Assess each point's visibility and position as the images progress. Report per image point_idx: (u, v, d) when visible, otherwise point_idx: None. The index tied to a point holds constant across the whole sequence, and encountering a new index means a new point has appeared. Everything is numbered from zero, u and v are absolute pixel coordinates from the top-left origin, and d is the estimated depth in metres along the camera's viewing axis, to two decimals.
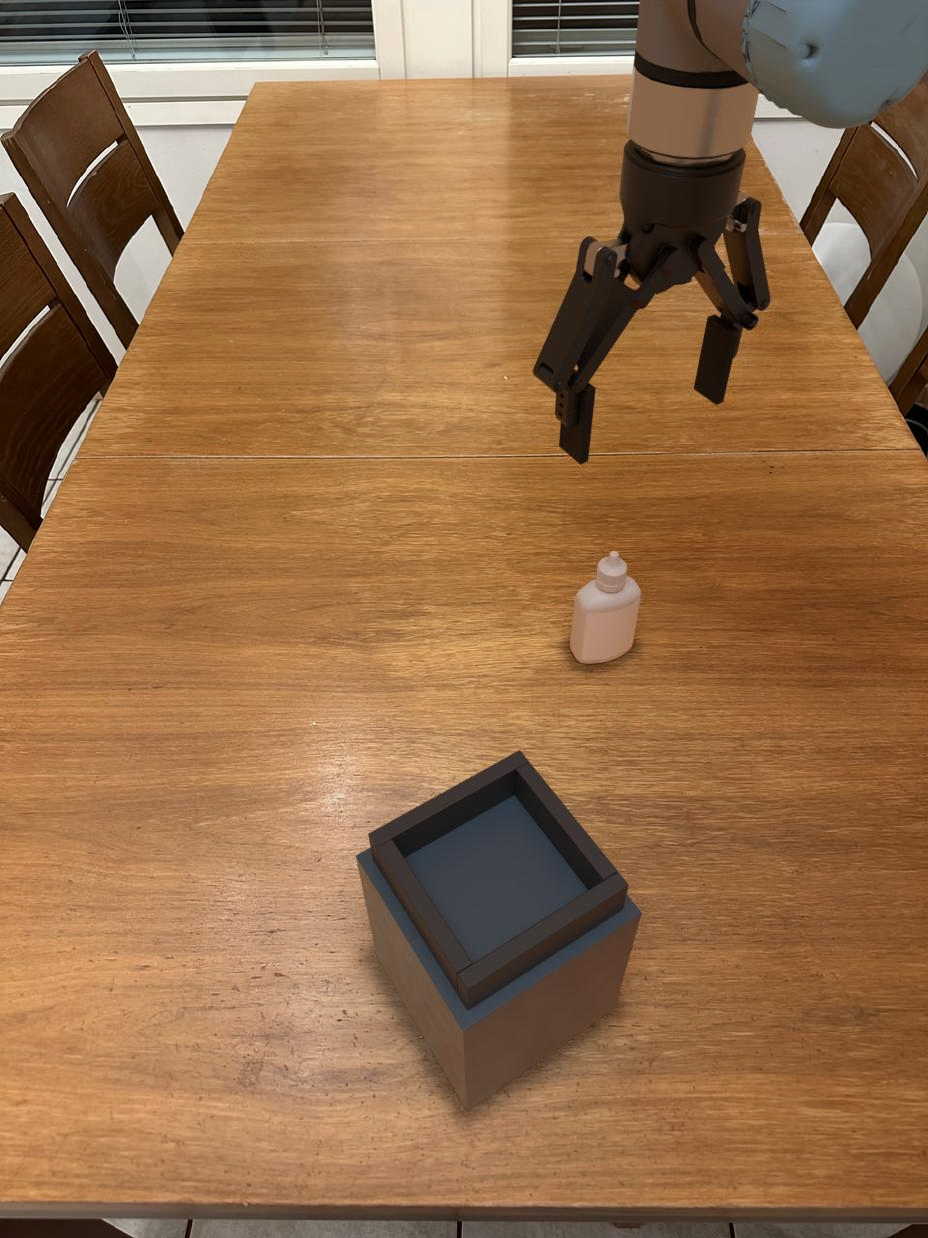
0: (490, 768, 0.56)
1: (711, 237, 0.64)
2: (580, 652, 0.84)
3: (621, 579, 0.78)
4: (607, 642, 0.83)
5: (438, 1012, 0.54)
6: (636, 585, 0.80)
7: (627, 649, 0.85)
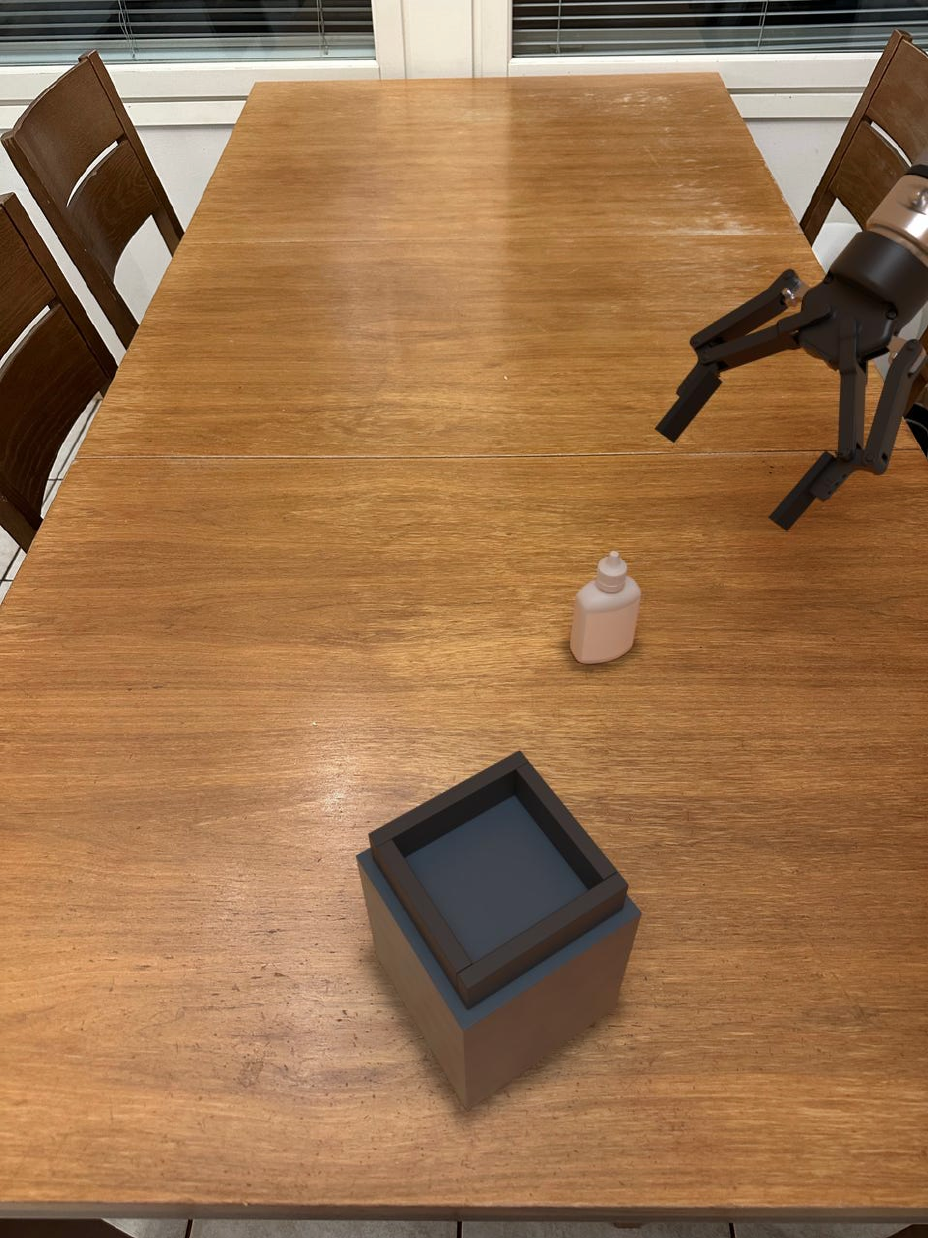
0: (490, 768, 0.56)
1: None
2: (580, 652, 0.84)
3: (621, 579, 0.78)
4: (607, 642, 0.83)
5: (438, 1012, 0.54)
6: (636, 585, 0.80)
7: (627, 649, 0.85)
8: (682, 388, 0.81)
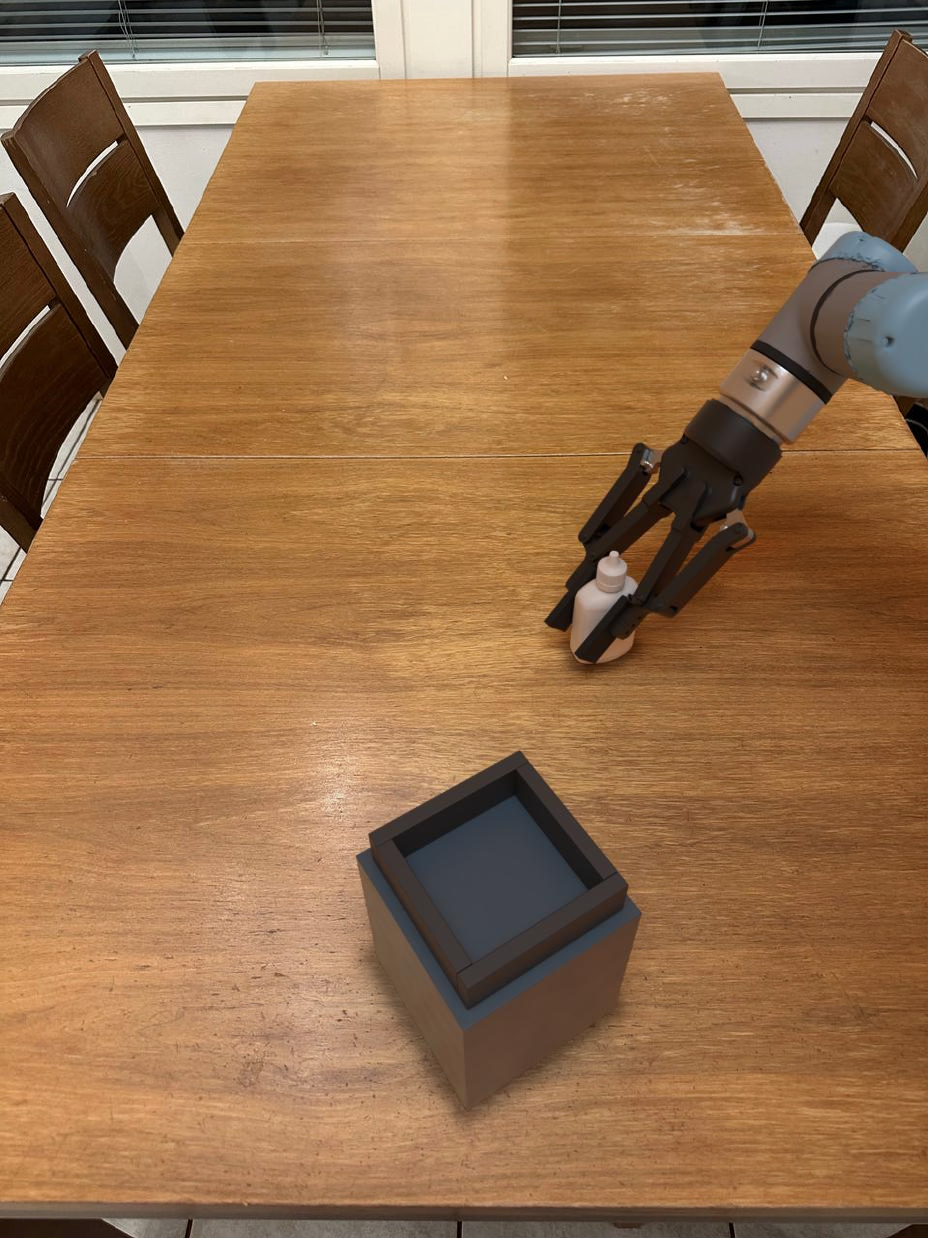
0: (490, 768, 0.56)
1: None
2: None
3: (621, 579, 0.78)
4: None
5: (438, 1012, 0.54)
6: (636, 585, 0.80)
7: (627, 649, 0.85)
8: (571, 582, 0.82)
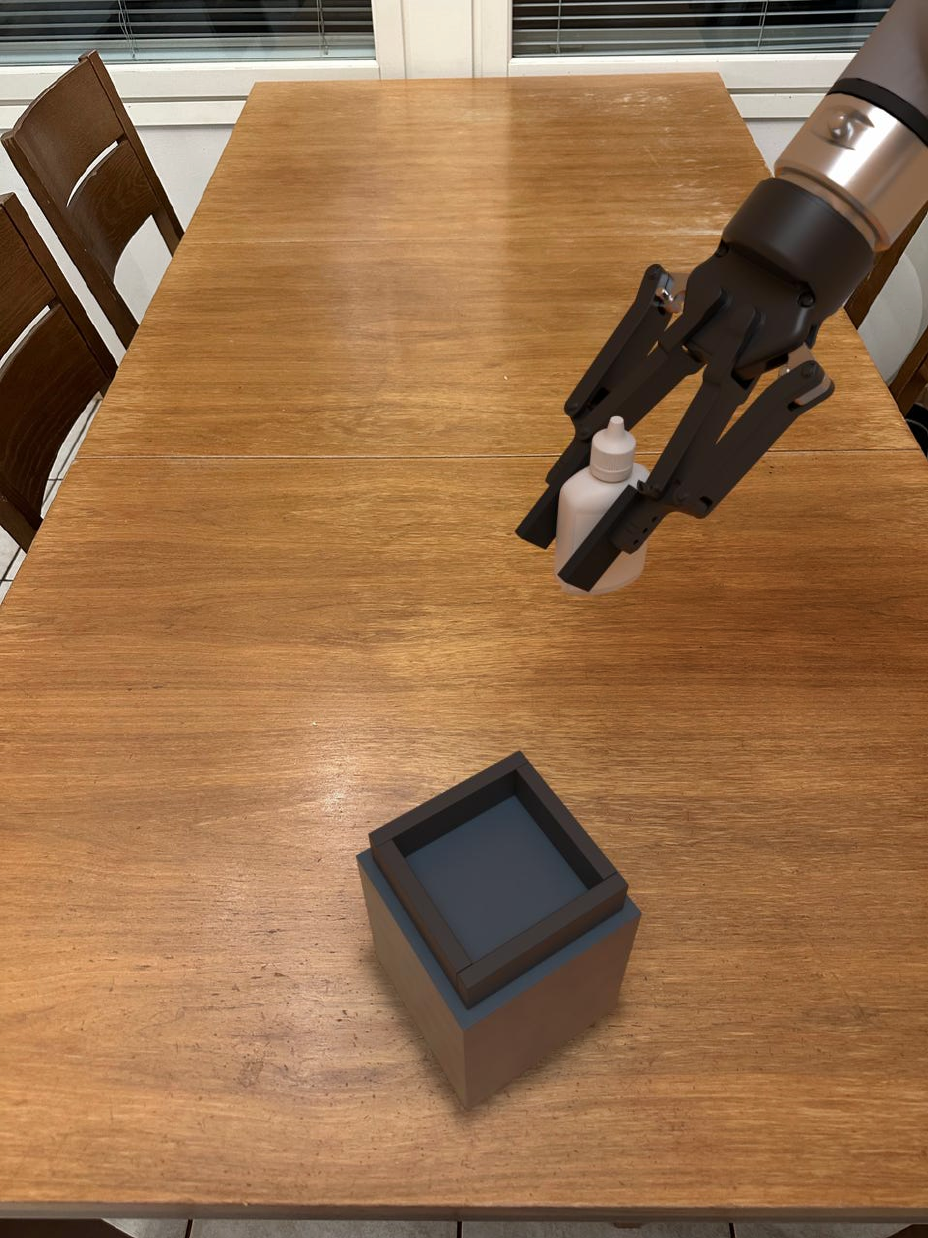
0: (490, 768, 0.56)
1: None
2: None
3: (627, 460, 0.52)
4: None
5: (438, 1012, 0.54)
6: (649, 474, 0.55)
7: (636, 576, 0.59)
8: (553, 474, 0.56)
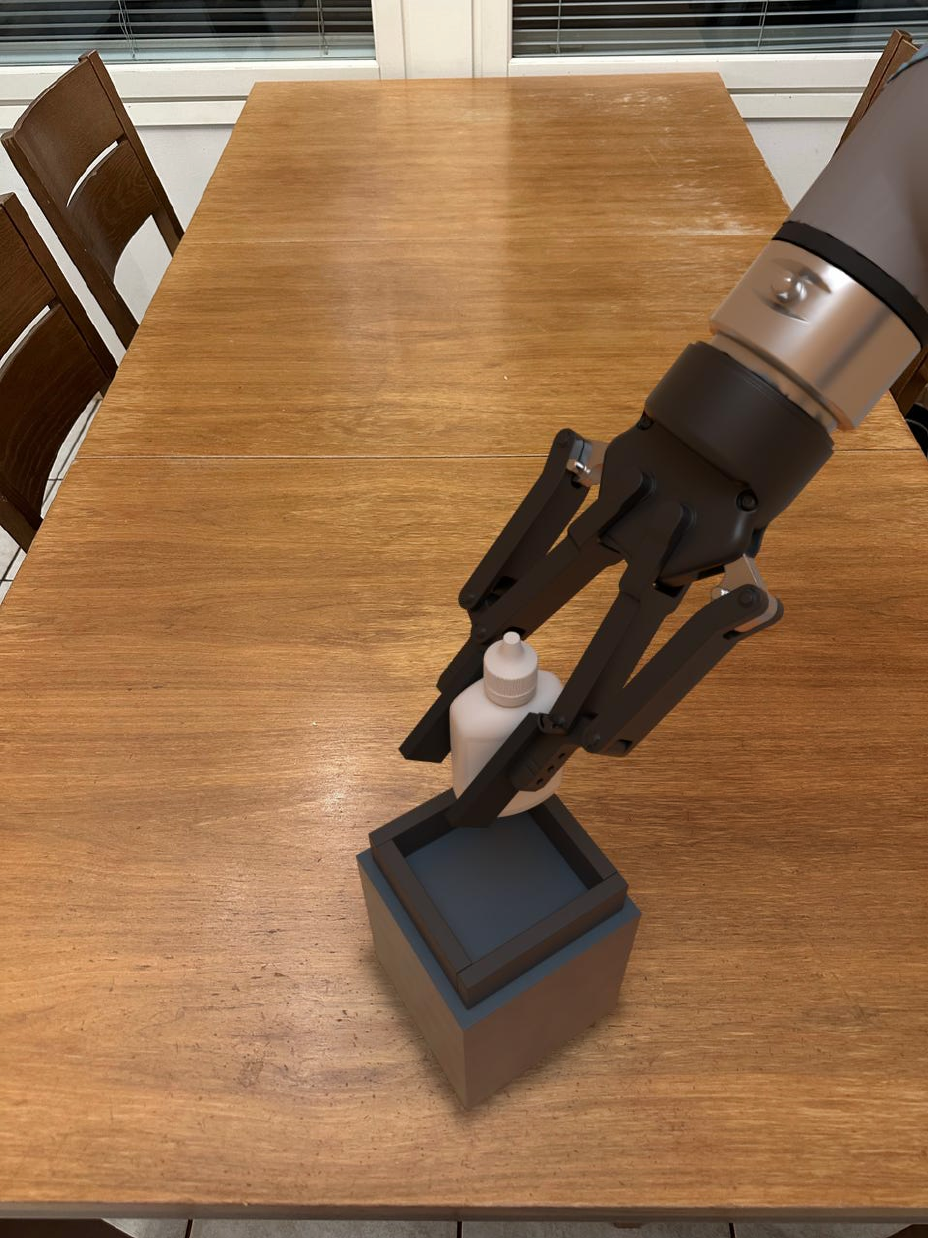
0: None
1: None
2: None
3: (527, 684, 0.41)
4: None
5: (438, 1012, 0.54)
6: (560, 689, 0.44)
7: (552, 791, 0.49)
8: (446, 679, 0.46)
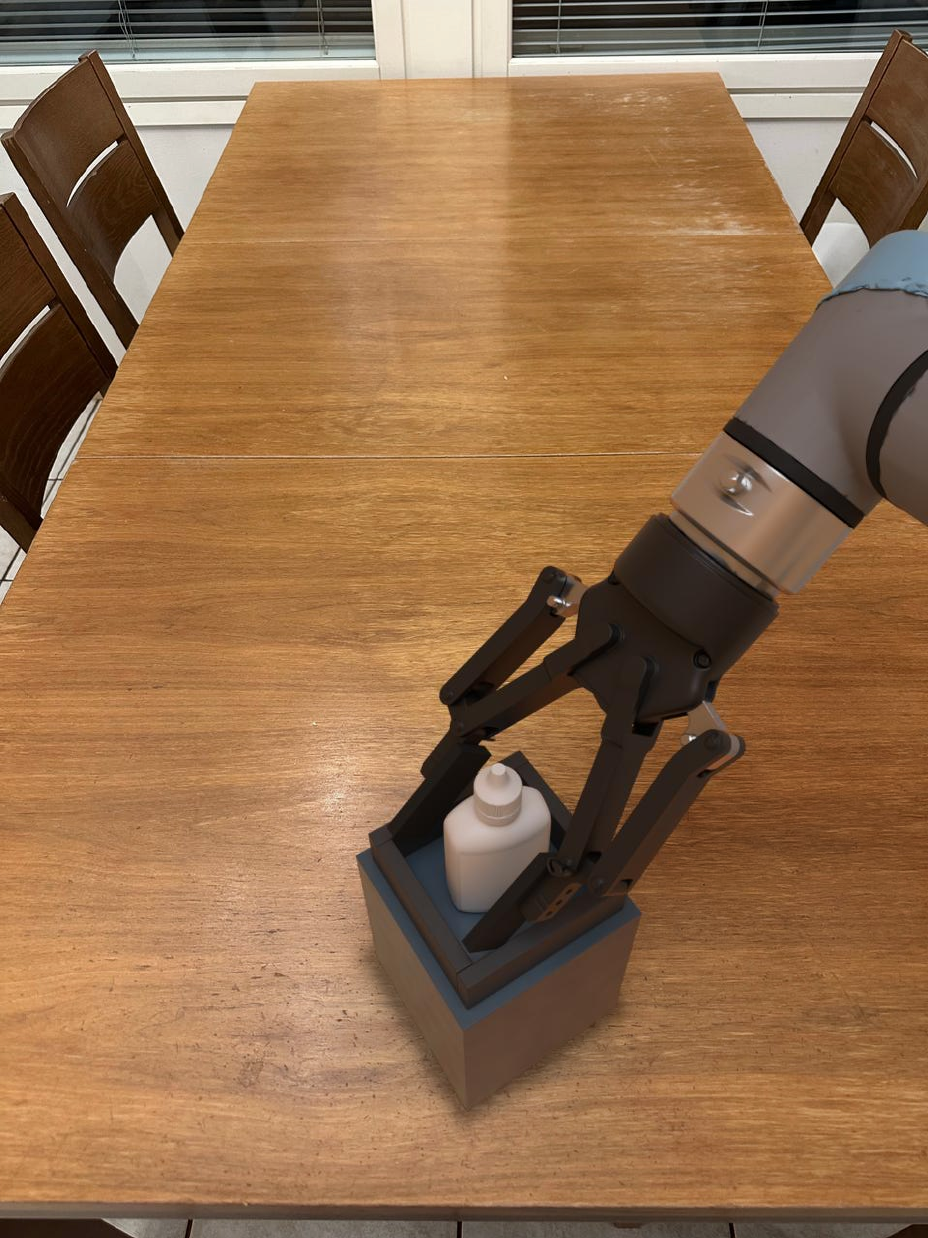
0: None
1: None
2: (459, 900, 0.52)
3: (512, 807, 0.47)
4: (500, 888, 0.51)
5: (438, 1012, 0.54)
6: (542, 806, 0.49)
7: None
8: (429, 766, 0.52)
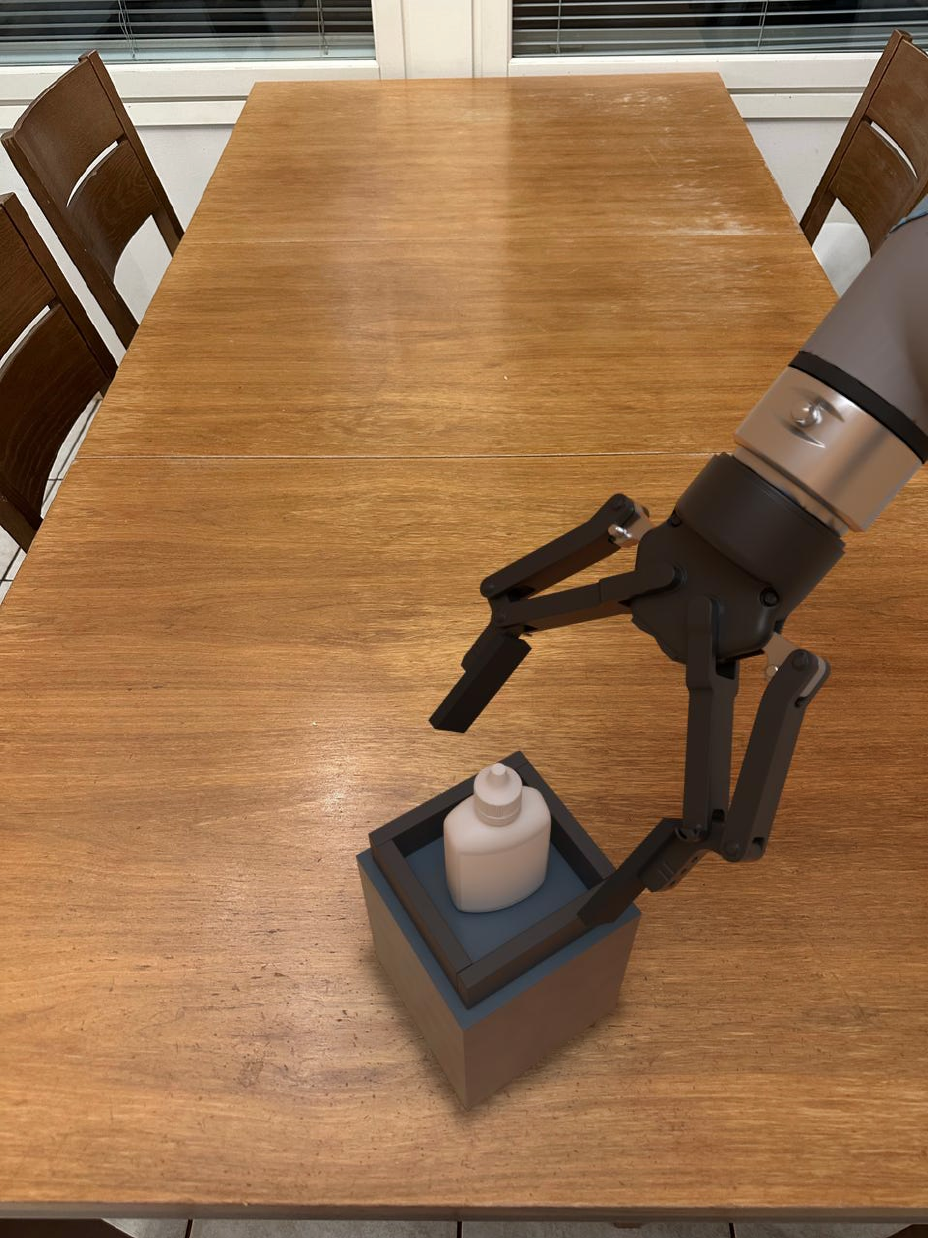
0: None
1: None
2: (459, 900, 0.52)
3: (512, 807, 0.47)
4: (500, 888, 0.51)
5: (438, 1012, 0.54)
6: (542, 806, 0.49)
7: (536, 888, 0.54)
8: (469, 659, 0.53)
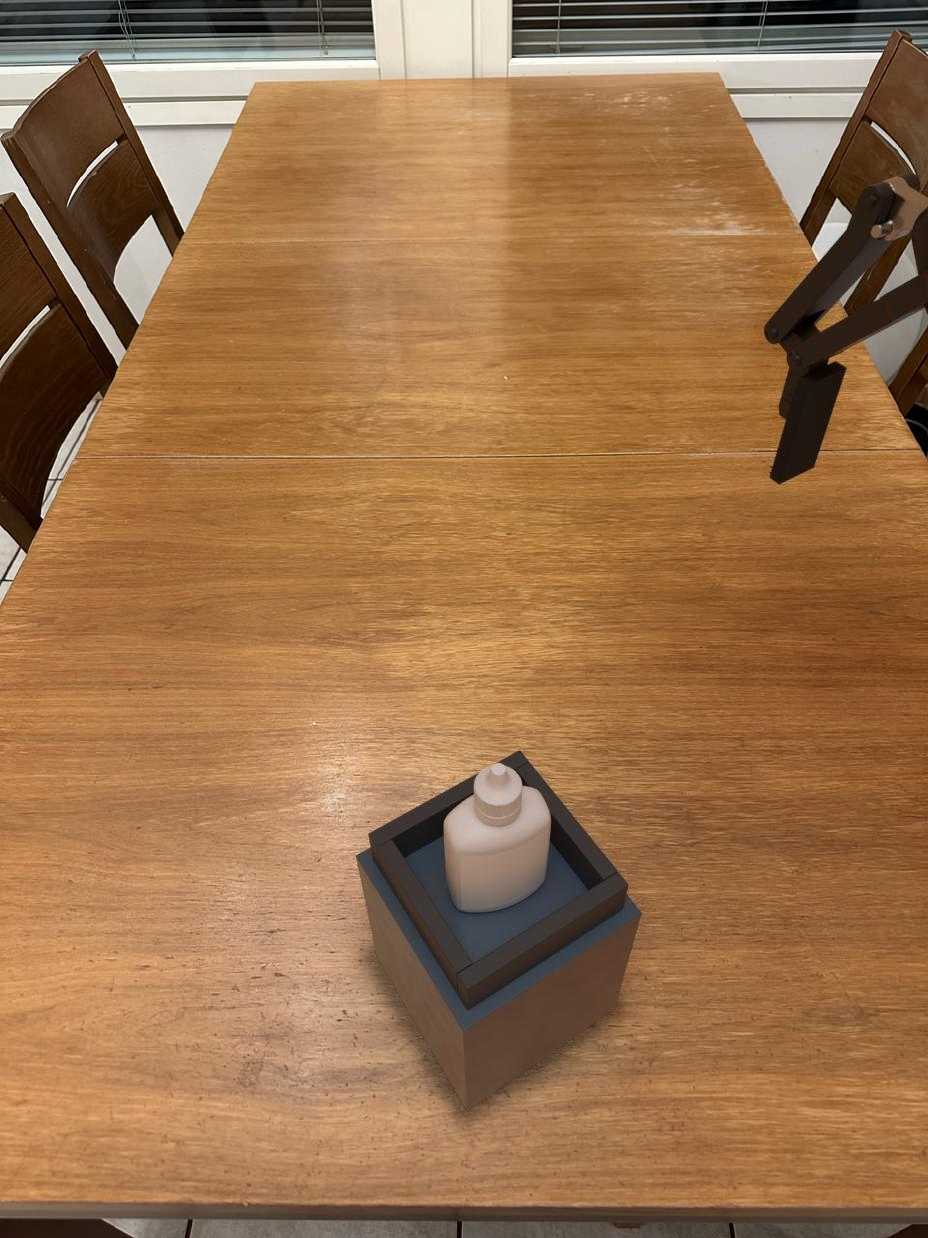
0: None
1: None
2: (459, 900, 0.52)
3: (512, 807, 0.47)
4: (500, 888, 0.51)
5: (438, 1012, 0.54)
6: (542, 806, 0.49)
7: (536, 888, 0.54)
8: (785, 406, 0.50)
